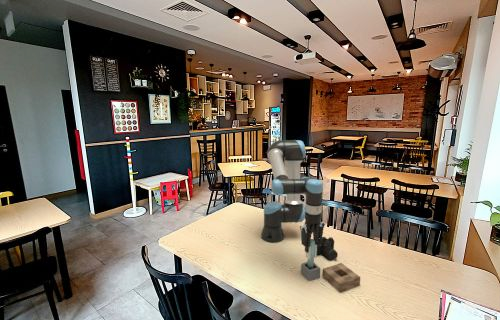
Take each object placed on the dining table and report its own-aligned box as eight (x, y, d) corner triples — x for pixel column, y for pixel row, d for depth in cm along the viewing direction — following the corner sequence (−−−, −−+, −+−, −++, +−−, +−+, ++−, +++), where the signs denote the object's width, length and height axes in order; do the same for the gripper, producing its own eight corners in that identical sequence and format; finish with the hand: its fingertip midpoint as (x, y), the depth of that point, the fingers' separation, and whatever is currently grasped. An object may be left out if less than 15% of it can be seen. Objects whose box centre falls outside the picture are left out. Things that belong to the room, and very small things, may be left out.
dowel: (305, 268, 118) (307, 239, 115) (310, 267, 119) (312, 238, 116) (309, 272, 115) (311, 242, 112) (314, 270, 116) (316, 241, 113)
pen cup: (300, 274, 119) (301, 263, 118) (311, 271, 121) (311, 260, 120) (308, 282, 113) (309, 271, 112) (319, 279, 115) (320, 268, 114)
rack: (322, 277, 116) (322, 268, 115) (340, 271, 121) (341, 262, 120) (340, 294, 105) (340, 284, 105) (359, 286, 110) (360, 277, 109)
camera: (319, 264, 127) (320, 247, 125) (309, 253, 137) (310, 238, 136) (341, 260, 131) (342, 243, 129) (330, 250, 141) (331, 234, 139)
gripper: (304, 218, 105) (301, 265, 109) (332, 212, 111) (329, 257, 115) (294, 211, 111) (292, 256, 116) (321, 206, 118) (318, 249, 122)
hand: (310, 256), depth 115 cm, fingers closed on dowel, 3 cm apart
